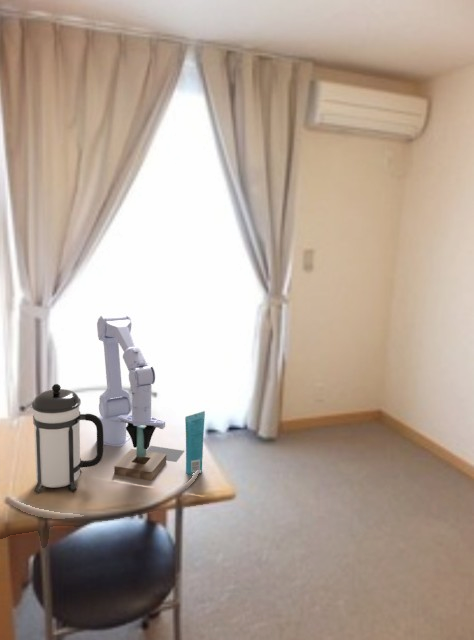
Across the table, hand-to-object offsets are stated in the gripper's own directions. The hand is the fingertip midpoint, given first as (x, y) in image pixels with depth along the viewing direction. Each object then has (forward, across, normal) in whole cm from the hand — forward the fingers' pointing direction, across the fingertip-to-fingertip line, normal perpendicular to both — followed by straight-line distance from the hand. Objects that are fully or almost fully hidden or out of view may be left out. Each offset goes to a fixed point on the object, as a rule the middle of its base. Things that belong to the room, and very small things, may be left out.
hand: (141, 447), depth 155 cm
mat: (+7, +3, +11) cm, 14 cm away
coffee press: (+8, -18, -14) cm, 24 cm away
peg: (+3, 0, 0) cm, 3 cm away
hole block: (+7, 0, 0) cm, 7 cm away
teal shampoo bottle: (+8, +16, +3) cm, 18 cm away
